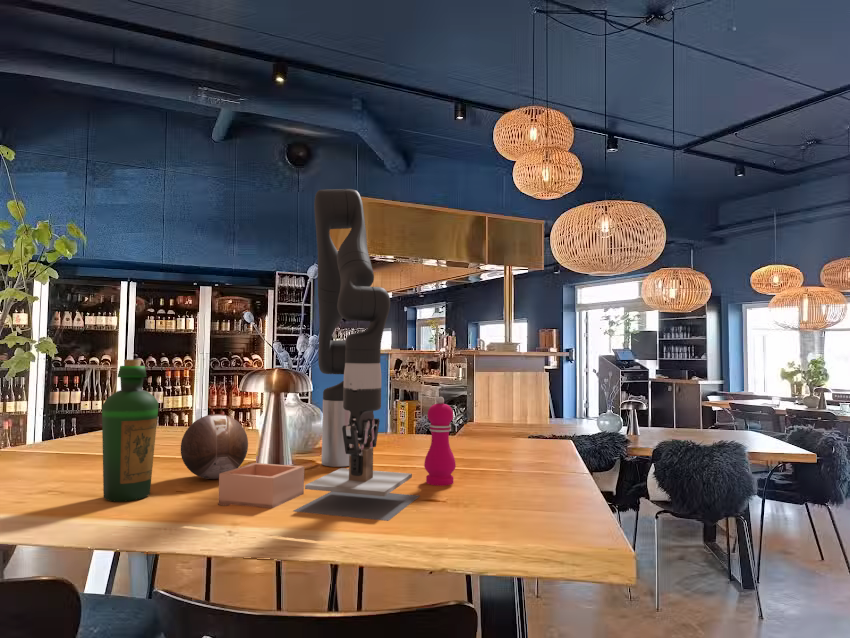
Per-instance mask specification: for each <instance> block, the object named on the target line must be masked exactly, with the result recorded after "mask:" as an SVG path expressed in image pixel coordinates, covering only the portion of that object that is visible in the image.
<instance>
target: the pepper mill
mask: <svg viewBox="0 0 850 638" xmlns="http://www.w3.org/2000/svg"><path fill="white" fill-rule="evenodd" d="M453 419H454V411H453V408H452V407H451V406H450V405H448V404H446V403H445V399H444V397H443V396H438V397H437V399H436V403H435V404H432V405H431V406H429V409H428V410H427V420H428V421H429V423H430V424H429V431H430V433H431V442H430V445H429V446H430V447H429V449H428V451H427V453H426V456H425V459H424V464H423V467H424V469H425V471H426V472H427V475H426V477H425V478H426V479H425V483H426V484H428V485H432V486H443V487H445V486H450V485H453V484H454V476H453V475H452V473H453V472H454V471H455V470H456V459H455V456H454V453H453V452H452V448H451V445H450V437H449V435H450V432H452V425H451V424H450V423H451V422H452V421H453Z"/></svg>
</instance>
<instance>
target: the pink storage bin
mask: <svg viewBox="0 0 850 638" xmlns="http://www.w3.org/2000/svg"><path fill="white" fill-rule="evenodd" d="M304 492H305V466H303V465H287V464H274V463H262V462H252V463H249V464H247V465H243V466H239V468H236V469H233V470H230V471H227V472H223V473H220V474H219V478H218V502H217V504H218V506H226V507H229V506H231V505H233V506H234V505H235V506H244V507H253V508H255V507H256V508H265V509H275V508H277V507H279V506H281V505H283V504H286V503H287V502H290V501H292V500H294V499H296V498H298V497H301V496H302V495H304V494H305V493H304Z"/></svg>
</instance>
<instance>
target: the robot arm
mask: <svg viewBox="0 0 850 638" xmlns="http://www.w3.org/2000/svg"><path fill="white" fill-rule="evenodd" d="M314 196H315V197H314V205H313V206H314V220H315V223H314V225H315V233H316V235H315V236H316V244H317V245H316V247H317V301H318V316H319V317H318V319H319V328H318V329H319V331H318V352H317V353H318V355H317V361H318V362H317V363H318V368H319V371H320V372H321V373H322V374H325V375H343V380H342V381H340V382H339V383H337V384H335V385H332V386H329V387H327V388H324V389H323V392H322V422H321V423H322V424H321V425H322V427H321V428H322V431H321V465H323V466H326V467H331V468H334V467H336V468H337V467H339V468H340V467H341V468H344V467H349V455H350V456H351V474H352V475H353V476H361V475H362V474H363V450H364V447H373V448H376V447H377V442H378V435H379V428H380V418H375V414H374V412H375V411H379V410H380V409H382V369H381V354H382V353H381V349H382V348H381V347H382V339H383V334H384V329H385V326H386V323H387V319H388V316H389V314H390V309H391V297H390V294H389V293H388V291H387V290H386V289H385V288H384V287H381V286H372V284H373V283H374V281H375V274H374V270H373V266H372V265H373V264H372V262H371V258H370V254H369V250H368V241H367V240H368V239H367V230H366V222H365V221H366V220H365V213H364V212H365V211H364V203H363V200H362V197H361V195H360V193H359V192H358V190H356V189H354V188H353V189H352V188H342V189H341V188H339V189H338V188H336V189H333V188H332V189H319V190H317V192H316V193H315V195H314ZM343 229H344V230H345V229H349V230H350V231H349V233H348V234H347V235H346V237H345V238H344V240H343V241H342V242H341V244H340V246H339V248H338V249H337V247H336V246H335V244H334V242H333V240H332V237H331V235H330V234H331V233H330V231H331V230H343ZM343 319H344V320H346V321H350V322H369V325H368V327H367V328H366V330H364V331H361V332H356V333H355V332H354V333H351V334H349V335H347V336H346V337H345V338H346V340H343V339H342V340H339V339H335V340H334V339H333V340H332V338H333V335H334V332H335V330H336V328H338V325H339V324H340V323H341V321H342V320H343Z"/></svg>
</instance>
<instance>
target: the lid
mask: <svg viewBox="0 0 850 638" xmlns="http://www.w3.org/2000/svg"><path fill="white" fill-rule="evenodd" d="M412 477H413V474H412V473H409V472H408V473H407V472H406V473H405V472H399V471H398V472H395V471H385V470H384V471H381V470H374V447H364V450H363V474H362V475H361V476H353V475H352V474H351V456H350V455H349V466H348V468H345V467H341V468H340V467H339V468H338V469H336V470H334V471H332V472H330V473H327V474H325V475H323V476H320V477H319V478H317V479H315V480H313V481H310V482H308V483H305V484H304V490H311V491H322V492H342V493H353V494H364V495H375V496H386V495H387V494H389V493H393V491H395V490H396V489H397V488H398V487H400V486H402V485H403V484H405V483H406V482H408V481H409V480H410V479H412Z"/></svg>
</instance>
